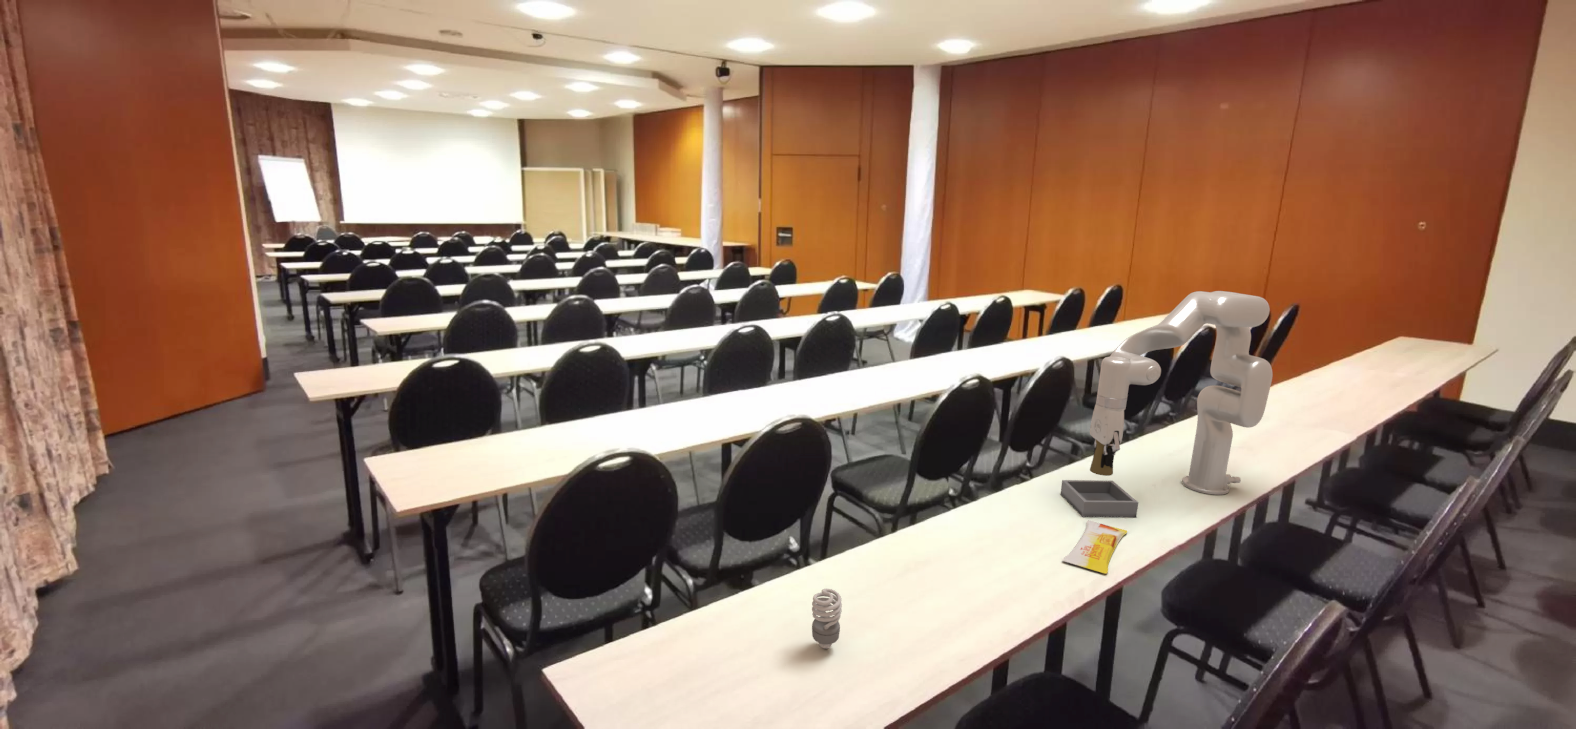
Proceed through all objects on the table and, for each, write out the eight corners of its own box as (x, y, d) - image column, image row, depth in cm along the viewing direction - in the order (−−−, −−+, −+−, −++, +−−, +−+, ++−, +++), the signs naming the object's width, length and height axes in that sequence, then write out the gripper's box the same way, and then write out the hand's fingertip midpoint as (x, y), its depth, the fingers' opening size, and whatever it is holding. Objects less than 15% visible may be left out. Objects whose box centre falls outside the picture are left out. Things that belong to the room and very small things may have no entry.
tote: (1110, 494, 211) (1112, 480, 210) (1136, 517, 196) (1138, 502, 195) (1060, 494, 210) (1062, 480, 209) (1082, 517, 196) (1084, 501, 195)
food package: (1107, 569, 165) (1062, 556, 171) (1105, 578, 166) (1061, 565, 171) (1128, 526, 187) (1088, 516, 193) (1127, 534, 188) (1087, 523, 193)
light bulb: (808, 639, 140) (810, 584, 137) (837, 638, 140) (839, 583, 137) (812, 657, 134) (814, 600, 131) (841, 656, 135) (844, 599, 132)
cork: (1115, 476, 197) (1120, 439, 195) (1092, 474, 198) (1097, 436, 196) (1110, 468, 203) (1115, 432, 200) (1087, 466, 204) (1092, 430, 202)
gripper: (1084, 393, 204) (1076, 453, 208) (1112, 410, 188) (1102, 475, 192) (1110, 393, 204) (1101, 454, 209) (1140, 411, 188) (1130, 476, 192)
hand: (1102, 463), depth 200 cm, fingers closed on cork, 3 cm apart
